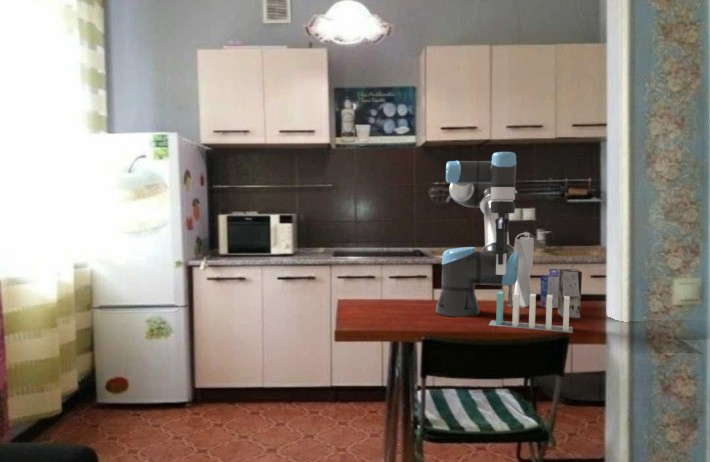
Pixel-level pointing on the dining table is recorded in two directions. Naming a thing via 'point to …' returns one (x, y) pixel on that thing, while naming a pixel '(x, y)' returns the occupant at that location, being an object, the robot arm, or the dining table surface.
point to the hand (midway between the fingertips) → (500, 273)
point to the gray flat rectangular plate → (526, 326)
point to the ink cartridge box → (549, 288)
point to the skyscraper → (523, 271)
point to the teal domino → (499, 308)
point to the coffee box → (570, 291)
